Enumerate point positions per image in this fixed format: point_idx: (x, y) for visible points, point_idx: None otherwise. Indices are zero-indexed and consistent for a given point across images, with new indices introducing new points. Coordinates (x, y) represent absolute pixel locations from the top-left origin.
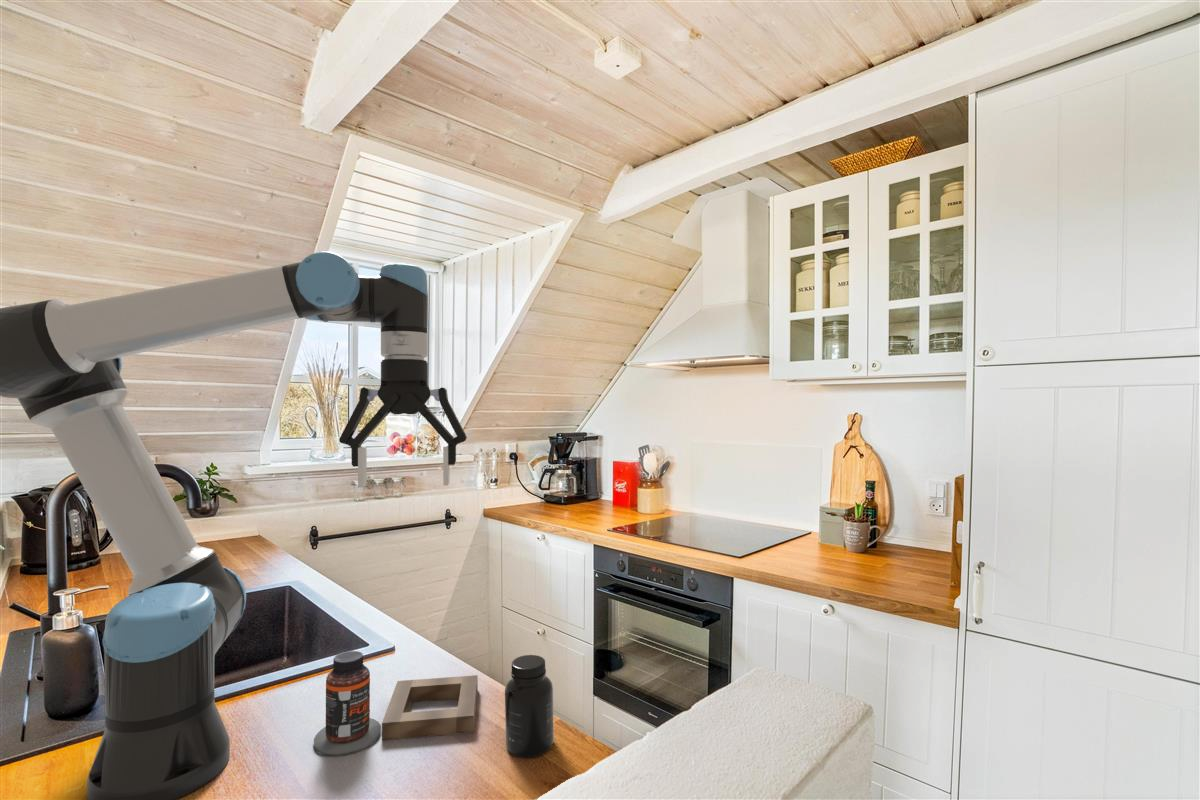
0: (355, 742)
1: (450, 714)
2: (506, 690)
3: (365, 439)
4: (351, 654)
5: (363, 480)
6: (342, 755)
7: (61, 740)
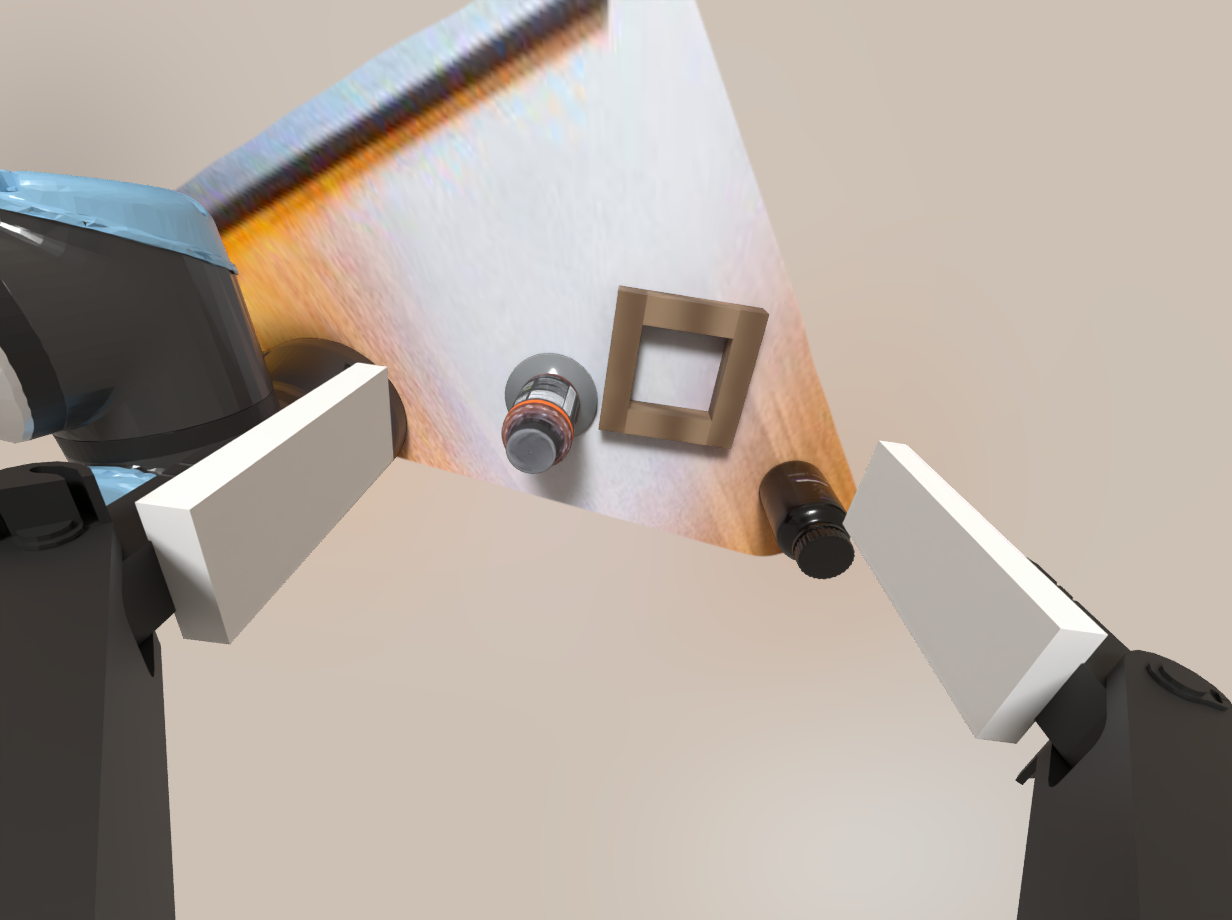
0: None
1: (698, 436)
2: (778, 537)
3: (114, 584)
4: (535, 447)
5: (374, 462)
6: None
7: None
